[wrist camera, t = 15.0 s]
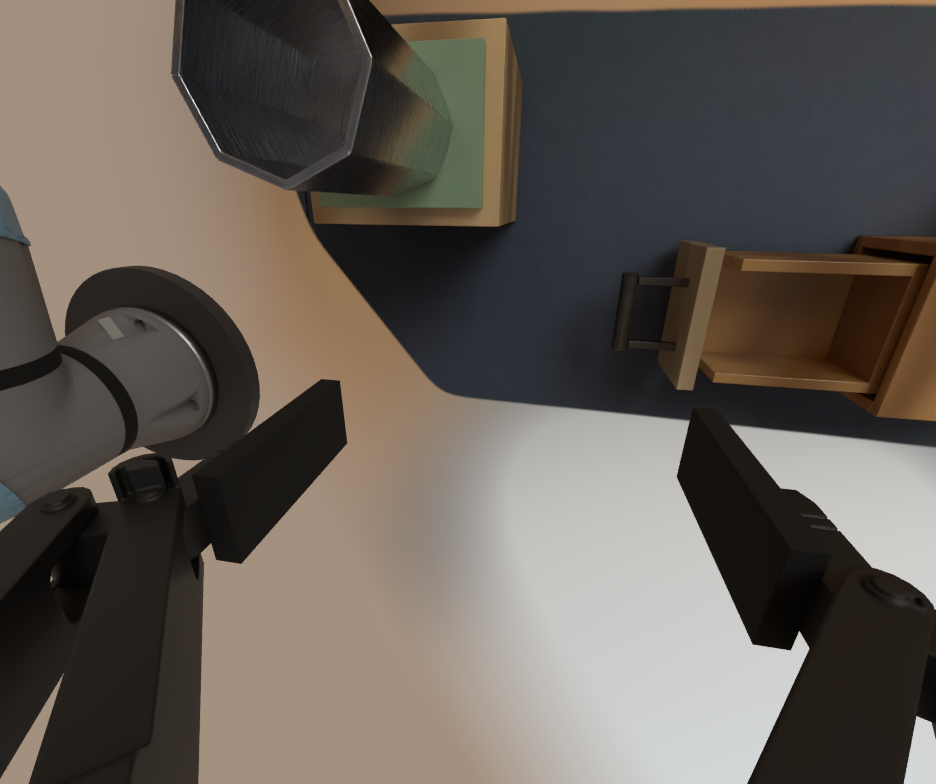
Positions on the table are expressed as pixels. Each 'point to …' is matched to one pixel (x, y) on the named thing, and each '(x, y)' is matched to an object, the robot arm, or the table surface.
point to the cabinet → (907, 338)
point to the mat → (463, 166)
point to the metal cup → (311, 94)
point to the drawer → (778, 317)
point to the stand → (498, 136)
